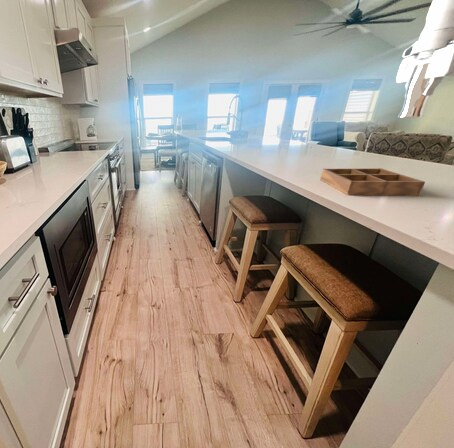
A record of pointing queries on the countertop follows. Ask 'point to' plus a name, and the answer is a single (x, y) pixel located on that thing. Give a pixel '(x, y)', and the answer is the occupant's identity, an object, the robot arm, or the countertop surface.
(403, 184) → the wooden compartment tray
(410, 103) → the beer glass
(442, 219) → the countertop surface
